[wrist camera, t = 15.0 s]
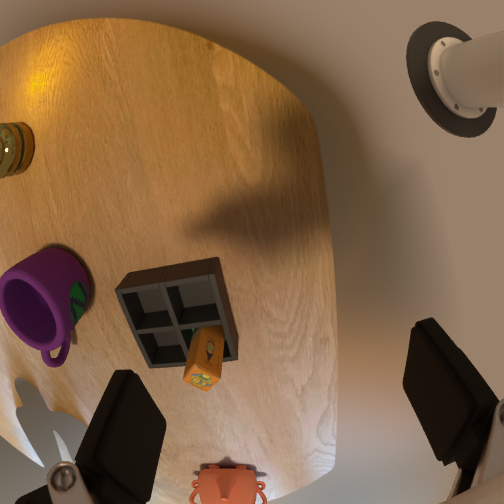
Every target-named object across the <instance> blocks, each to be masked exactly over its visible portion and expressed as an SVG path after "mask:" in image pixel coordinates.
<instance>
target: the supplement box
mask: <svg viewBox="0 0 504 504" xmlns="http://www.w3.org/2000/svg"><path fill="white" fill-rule="evenodd" d="M224 340H225V334H224V330H223V327H222V324H221V325H214V326H207V327H200V328H194V331H193V335H192V340H191V344H190V349H189V353H188V357H187V362H186V367H185V371H184V376H183V381H184V382H186V383H188V384H190V385H192V386H194V387H197V388H199V389H201V390H203V391H205V392H207V391H208V390H209V389H211V388H212V387H213V386H214V385H215V384H216V383H217V382H218V381H219V380H220V379H221V370H222V359H223V350H224Z"/></svg>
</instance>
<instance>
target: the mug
mask: <svg viewBox="0 0 504 504" xmlns="http://www.w3.org/2000/svg"><path fill="white" fill-rule="evenodd" d="M89 298H90V285H89V280H88V277H87V274H86V272H85V270H84V268H83V267H82V265H81V264H80V262H79V261H78V260H77V259H76V258H75V257H74V256H73V255H71V254H70V253H68V252H66V251H64V250H61V249H58V248H48V249H45V250H42V251H40V252H37V253H35V254H32V255H31V256H29V257H27V258H25V259H24V260H22V261H20V262H19V263H17V264H16V265H14V266H13V267H11V268H10V269H9V270H7V271H6V272H5V273H4V274H3V275H2V276H1V278H0V309H1V312H2V314H3V316H4V318H5V320H6V322H7V324H8V325H9V327H10V328H11V329H12V331H13V332H14V333H15V334H16V335H17V336H18V337H19V338H20V339H21V340H22V341H24V342H25V343H26V344H28V345H29V346H31V347H33V348H35V349H37V350H41V355H42V359H43V361H44V362H45V363H46V365H47V366H49V367H54V368H55V367H59V366H61V365H62V364H63V363H64V362H65V360H66V357H67V355H68V352H69V348H70V339H71V336H70V332H71V331H72V330H73V328H74V327H75V325H76V324H77V322H78V321H79V319H80V318H81V316H82V315H83V313H84V311H85V309H86V307H87V305H88V302H89ZM61 344H62V346H61ZM60 346H61V349H60V352H59V354H58V357H56V358H51V356H50V351H52V350H55V349H57V348H58V347H60Z"/></svg>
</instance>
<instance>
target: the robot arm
mask: <svg viewBox="0 0 504 504" xmlns="http://www.w3.org/2000/svg"><path fill="white" fill-rule="evenodd" d="M427 64H428V72H429V76H430V80H431V83H432V85H433V87H434V89H435V92H436V93H437V95H438V97H439V98H440V100H441V101H442V102H443V103H444V105H445V106H446V107H447V108H448V109H449V110H450V111H452V112H453V113H454V114H456V115H458V116H460V117H463V118H477V117H479V116H481V115H482V114H483V113H484V112H485V111H486V109H487V107H504V31H501V32H497V33H494V34H490V35H486V36H483V37H479V38H476V39H473V40H469V41H466V42H462V41H461V40H459V39H456V38H452V37H445V38H441V39H439V40H437V41H436V42H434V43H433V44H432V46H431V47H430V50H429V52H428V58H427ZM403 388H404V391H405V393H406V395H407V397H408V399H409V401H410V403H411V405H412V407H413V409H414V411H415V413H416V415H417V417H418V419H419V421H420V423H421V425H422V428H423V430H424V432H425V434H426V436H427V438H428V440H429V443H430V445H431V447H432V449H433V452H434V454H435V456H436V458H437V460H438V461H442V462H443V464H444V466H446V465H448V464H450V463H452V462H454V461H455V462H456V463H457V466H458V468H459V470H458V473H457V475H456V478H455V481H454V484H453V486H452V489H451V491H450V494H449V496H448V499H447V500H446V501H444V502H442V503H440V504H504V399H502V400H501V401H499V400H498V398H497V397H496V395H495V394H494V393H493V391H492V390H491V388H490V387H489V386H488V384H487V383H486V381H485V380H484V379H483V377H482V376H481V375H480V373H479V372H478V371H477V369H476V368H475V367H474V365H473V364H472V363H471V362H470V360H469V359H468V358H467V356H466V355H465V354H464V353H463V351H462V350H461V349H460V348H458V347H457V346H456V345H455V343H454V342H453V341H452V340H451V339H450V337H449V336H448V335H447V334H446V332H445V331H444V330H443V329H442V328H441V326H440V325H439V324H438V323H437V322H436V320H435V319H434V318H427V319H424V320H421V321H418V322H416V324H415V327H413V328H412V329H411V335H410V342H409V349H408V356H407V361H406V367H405V372H404V377H403ZM165 431H166V420H165V418H164V416H163V415H162V413H161V412H160V410H159V409H158V407H157V405H156V404H155V402H154V401H153V399H152V397H151V396H150V394H149V392H148V391H147V389H146V387H145V386H144V384H143V382H142V381H141V379H140V377H139V376H138V374H136V373H134V372H133V371H132V370H116V371H115V372H114V373H113V375H112V377H111V379H110V381H109V383H108V386H107V388H106V390H105V392H104V394H103V396H102V398H101V400H100V402H99V405H98V407H97V409H96V411H95V413H94V415H93V418H92V420H91V422H90V424H89V427H88V429H87V431H86V433H85V436H84V438H83V440H82V443H81V445H80V447H79V450H78V452H77V455H76V457H75V460H76V463H75V465H74V464H73V463H71V462H68V461H63V462H59V463H57V464H56V465H54V466H53V467H52V468H51V469H50V471H49V473H48V476H47V485H45V486H43V487H41V488H38V489H36V490H34V491H32V492H30V493H28V494H26V495H24V496H22V497H20V498H19V499H18V500H17V501H16V502H15V504H146V502H148V501H149V500H150V498H151V494H152V489H153V484H154V479H155V475H156V470H157V466H158V461H159V457H160V453H161V448H162V444H163V440H164V435H165Z"/></svg>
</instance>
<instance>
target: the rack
mask: <svg viewBox="0 0 504 504" xmlns="http://www.w3.org/2000/svg"><path fill="white" fill-rule="evenodd" d="M115 292H116V295H117V297H118V300H119V302H120V305H121V307H122V310H123V312H124V315H125V317H126V319H127V322H128V324H129V326H130V329H131V331H132V333H133V335H134V338H135V340H136V342H137V344H138V346H139V348H140V351H141V353H142V355H143V357H144V359H145V361H146V363H147V365H148V367H149V368H166V367H179V366H186V362H187V357H188V353H189V349H190V344H191V340H192V335H193V331H194V328H200V327H207V326H214V325H221V324H222V327H223V330H224V334H225V340H224V350H223V359H222V362H227V361H232V360H233V361H234V360H238V334H237V331H236V327H235V323H234V319H233V315H232V311H231V307H230V303H229V299H228V295H227V291H226V287H225V283H224V279H223V275H222V271H221V267H220V262H219V258H218V257H215V258H210V259H204V260H198V261H193V262H187V263H182V264H176V265H170V266H165V267H159V268H153V269H148V270H142V271H137V272H131V273H128V274H127V275H126V276H125V278H124V279H123V280H122V281H121V283H120V284H119V285H118V286H117V288H116V289H115Z"/></svg>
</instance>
